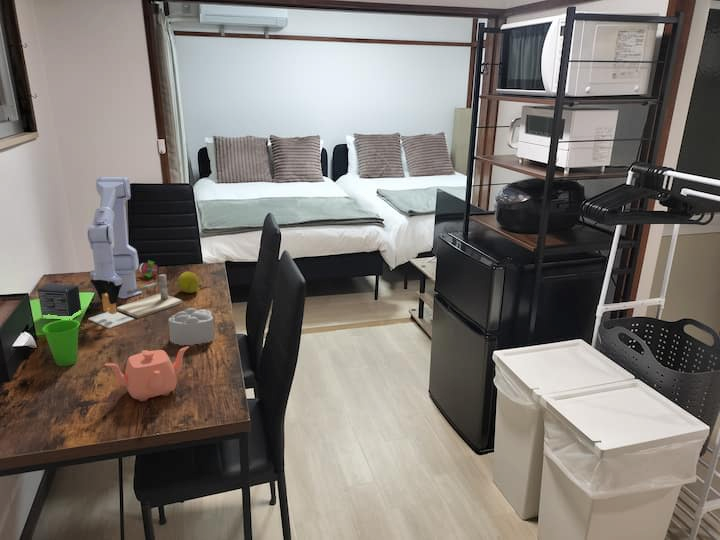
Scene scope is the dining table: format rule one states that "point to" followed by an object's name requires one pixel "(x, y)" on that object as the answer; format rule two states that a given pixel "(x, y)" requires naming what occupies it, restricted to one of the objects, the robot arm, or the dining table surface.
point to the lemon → (188, 282)
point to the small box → (59, 299)
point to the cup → (63, 340)
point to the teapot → (149, 373)
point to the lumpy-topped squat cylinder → (191, 327)
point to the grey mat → (110, 319)
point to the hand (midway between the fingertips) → (108, 301)
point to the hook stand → (150, 300)
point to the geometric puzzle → (148, 268)
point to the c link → (106, 304)
